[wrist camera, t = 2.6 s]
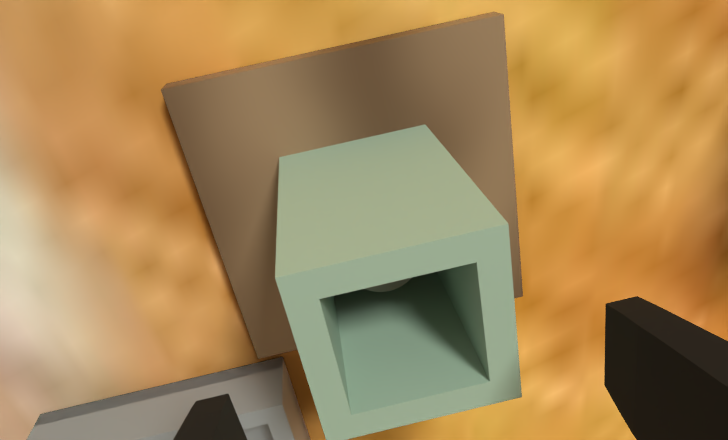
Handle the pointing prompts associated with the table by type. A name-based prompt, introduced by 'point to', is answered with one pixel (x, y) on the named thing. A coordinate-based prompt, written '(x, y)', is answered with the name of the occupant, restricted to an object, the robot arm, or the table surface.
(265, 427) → the grey tray
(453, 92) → the pin block
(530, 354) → the table surface
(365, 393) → the green sleeve
